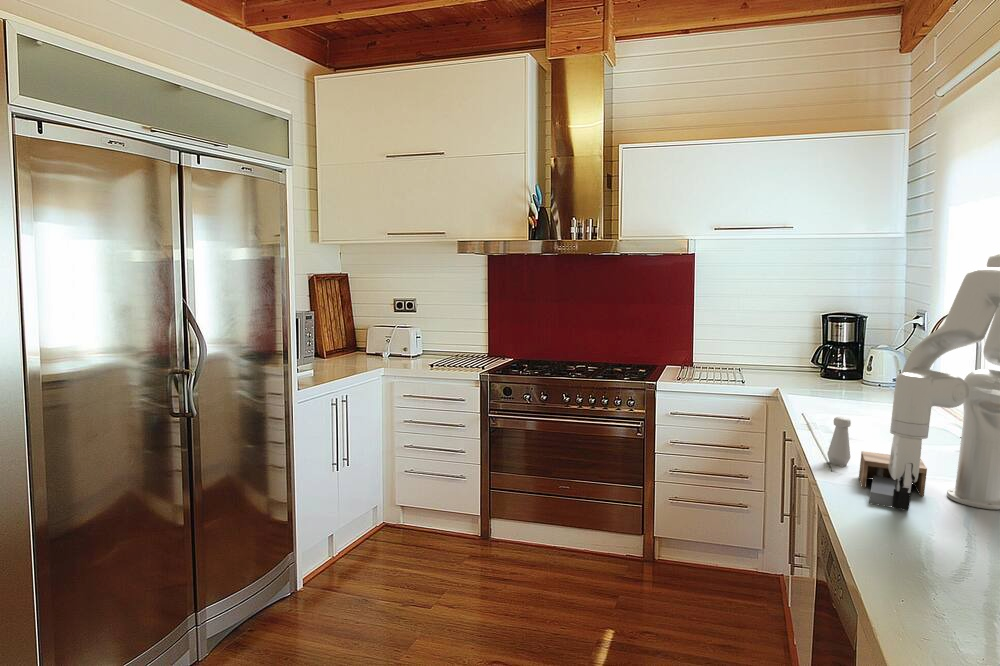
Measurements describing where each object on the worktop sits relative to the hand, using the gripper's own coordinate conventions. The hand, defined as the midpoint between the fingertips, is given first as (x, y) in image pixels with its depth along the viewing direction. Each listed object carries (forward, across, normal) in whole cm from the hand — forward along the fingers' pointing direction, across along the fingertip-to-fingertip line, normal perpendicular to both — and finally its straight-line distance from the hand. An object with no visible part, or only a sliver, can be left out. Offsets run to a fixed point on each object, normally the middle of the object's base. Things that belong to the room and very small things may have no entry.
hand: (900, 507), depth 174 cm
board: (+1, -10, -1) cm, 10 cm away
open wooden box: (+1, -20, 0) cm, 20 cm away
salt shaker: (+1, -36, -11) cm, 38 cm away
